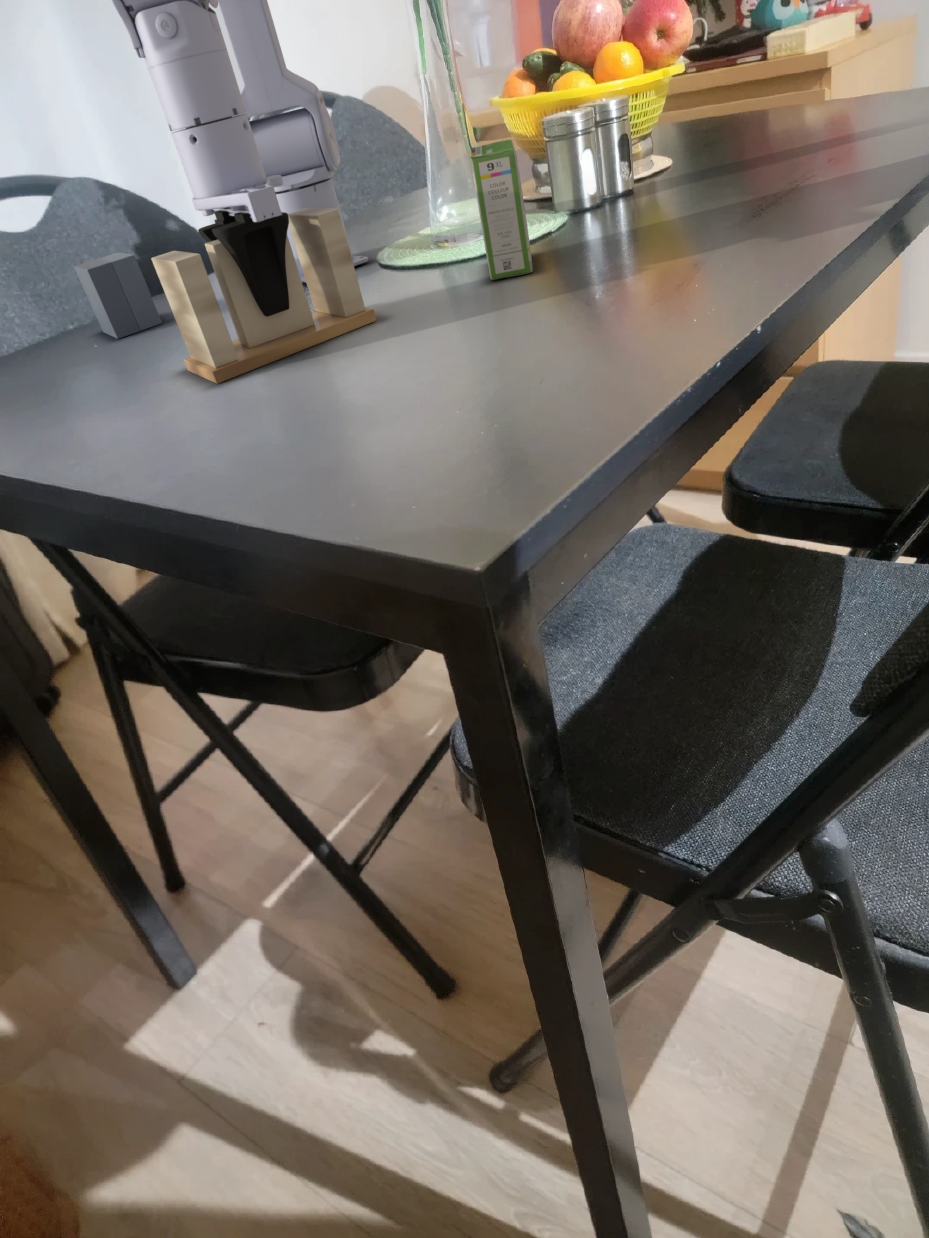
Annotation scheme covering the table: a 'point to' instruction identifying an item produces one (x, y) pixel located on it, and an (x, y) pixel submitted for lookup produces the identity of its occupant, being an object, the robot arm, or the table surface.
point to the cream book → (244, 307)
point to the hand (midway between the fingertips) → (271, 310)
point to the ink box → (501, 207)
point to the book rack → (333, 316)
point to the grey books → (118, 294)
